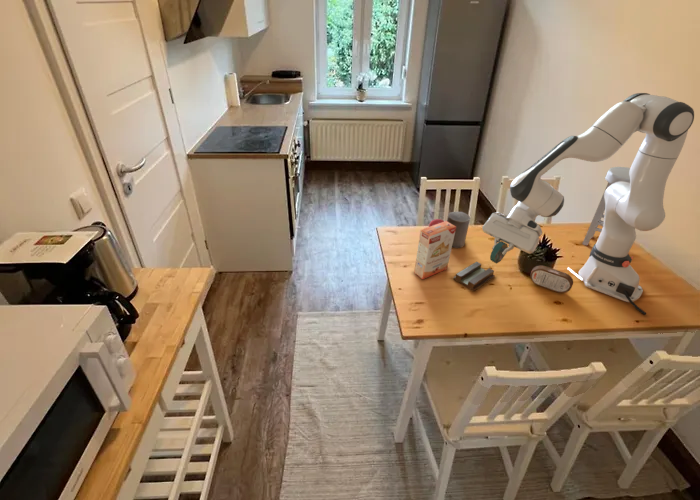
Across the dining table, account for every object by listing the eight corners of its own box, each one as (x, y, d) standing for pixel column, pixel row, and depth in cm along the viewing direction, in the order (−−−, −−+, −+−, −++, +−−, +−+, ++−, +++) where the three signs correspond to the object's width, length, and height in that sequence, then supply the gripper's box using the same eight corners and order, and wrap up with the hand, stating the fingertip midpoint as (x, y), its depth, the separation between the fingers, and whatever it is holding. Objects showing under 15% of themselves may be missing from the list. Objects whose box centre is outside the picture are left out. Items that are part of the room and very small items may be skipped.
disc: (504, 258, 146) (509, 240, 141) (492, 266, 141) (497, 248, 137) (499, 256, 147) (505, 238, 142) (488, 263, 142) (493, 245, 138)
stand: (494, 277, 156) (496, 271, 154) (474, 291, 148) (475, 285, 147) (473, 266, 162) (474, 260, 161) (453, 278, 155) (454, 273, 153)
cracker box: (423, 280, 153) (430, 236, 142) (413, 272, 158) (419, 228, 146) (448, 269, 160) (457, 226, 148) (438, 262, 164) (445, 219, 153)
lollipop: (441, 245, 176) (446, 216, 167) (443, 254, 169) (448, 225, 161) (424, 244, 176) (429, 215, 168) (425, 253, 170) (430, 223, 162)
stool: (584, 231, 189) (613, 163, 170) (620, 243, 181) (654, 173, 161) (576, 244, 179) (605, 173, 160) (613, 256, 171) (648, 184, 151)
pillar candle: (442, 245, 175) (447, 217, 167) (444, 235, 183) (449, 207, 175) (464, 249, 173) (470, 220, 165) (465, 238, 181) (471, 210, 173)
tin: (569, 292, 149) (576, 275, 144) (567, 297, 147) (575, 279, 142) (528, 278, 156) (534, 261, 151) (527, 282, 154) (533, 265, 149)
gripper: (492, 206, 145) (472, 237, 145) (544, 228, 132) (522, 261, 132) (496, 213, 150) (476, 243, 150) (546, 235, 137) (525, 267, 137)
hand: (498, 252), depth 141 cm, fingers closed on disc, 2 cm apart
